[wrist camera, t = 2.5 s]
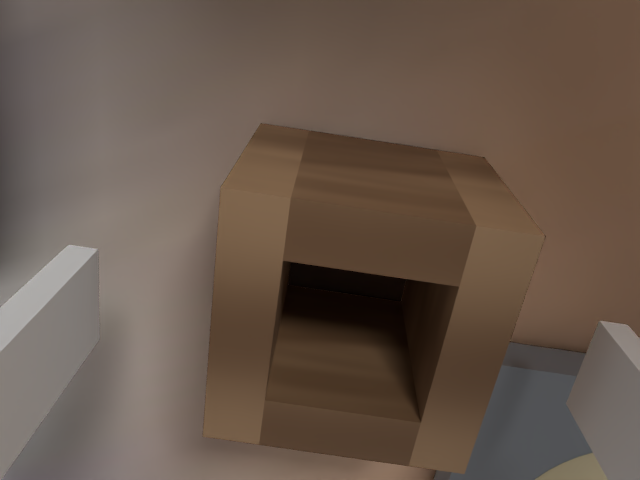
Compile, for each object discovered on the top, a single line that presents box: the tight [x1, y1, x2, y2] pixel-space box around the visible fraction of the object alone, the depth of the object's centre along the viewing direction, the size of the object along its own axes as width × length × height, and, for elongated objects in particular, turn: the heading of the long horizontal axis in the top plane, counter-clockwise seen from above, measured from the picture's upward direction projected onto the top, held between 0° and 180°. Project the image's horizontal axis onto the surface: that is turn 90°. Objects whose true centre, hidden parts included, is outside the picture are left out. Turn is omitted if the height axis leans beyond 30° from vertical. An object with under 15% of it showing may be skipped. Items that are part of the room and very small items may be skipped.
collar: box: [203, 123, 546, 474], centre depth 16 cm, size 7×7×6 cm
